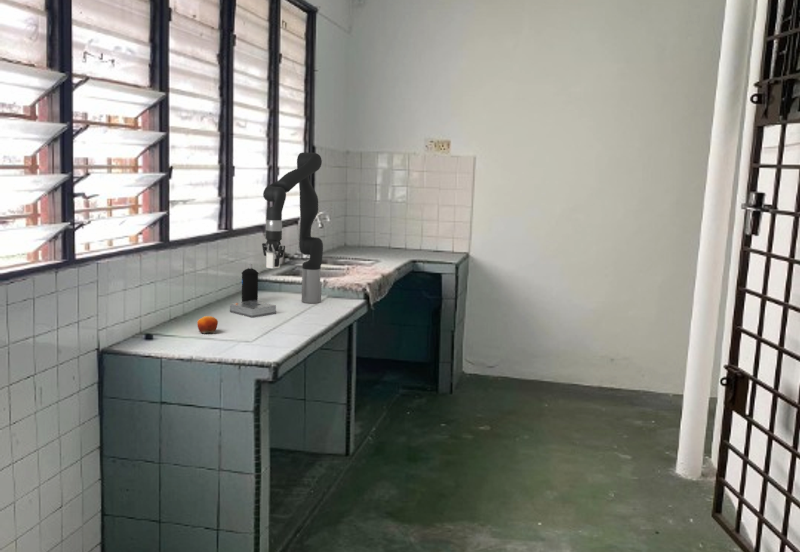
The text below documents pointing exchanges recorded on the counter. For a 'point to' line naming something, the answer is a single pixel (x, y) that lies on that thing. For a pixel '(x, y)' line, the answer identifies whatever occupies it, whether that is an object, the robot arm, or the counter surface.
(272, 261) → the white plain square block
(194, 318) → the counter surface
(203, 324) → the fruit
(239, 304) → the socket
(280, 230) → the robot arm
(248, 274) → the aerosol can
